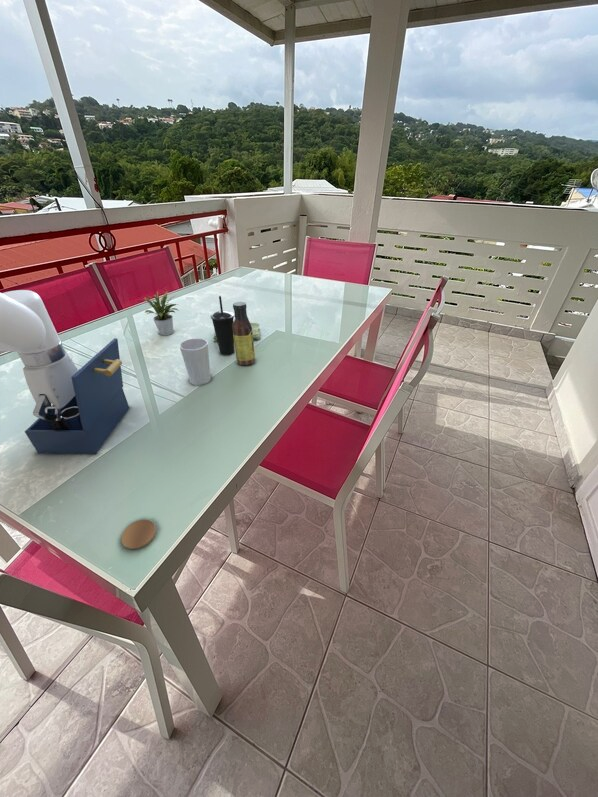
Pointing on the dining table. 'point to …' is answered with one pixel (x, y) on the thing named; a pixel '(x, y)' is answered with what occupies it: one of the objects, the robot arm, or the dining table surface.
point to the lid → (98, 383)
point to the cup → (196, 360)
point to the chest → (78, 440)
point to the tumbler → (72, 418)
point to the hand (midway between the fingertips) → (75, 418)
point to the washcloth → (254, 329)
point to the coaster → (138, 534)
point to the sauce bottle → (243, 335)
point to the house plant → (162, 314)
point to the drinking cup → (224, 330)
